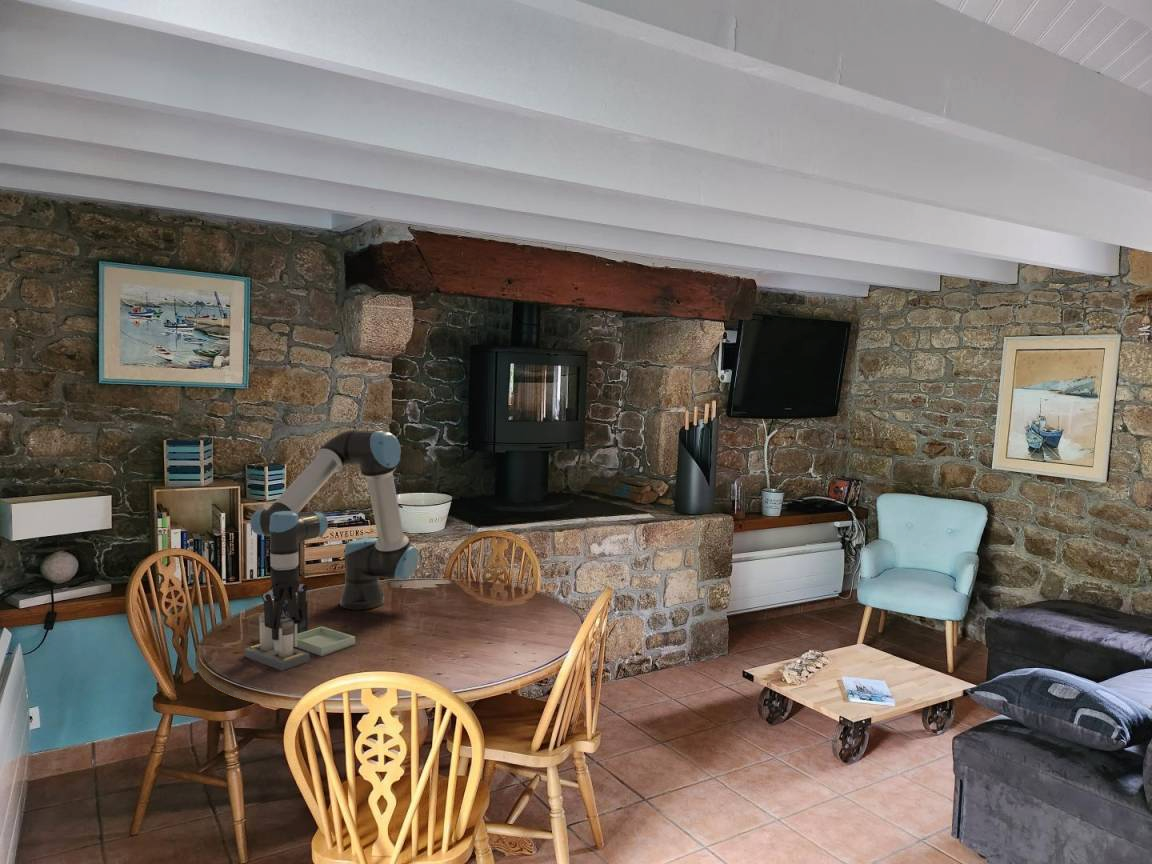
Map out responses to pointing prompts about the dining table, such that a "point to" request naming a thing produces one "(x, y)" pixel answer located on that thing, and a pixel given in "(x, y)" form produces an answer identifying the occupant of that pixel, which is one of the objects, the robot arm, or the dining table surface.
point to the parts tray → (324, 641)
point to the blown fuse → (287, 638)
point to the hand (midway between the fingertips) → (286, 647)
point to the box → (286, 615)
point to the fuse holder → (276, 657)
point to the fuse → (265, 636)
